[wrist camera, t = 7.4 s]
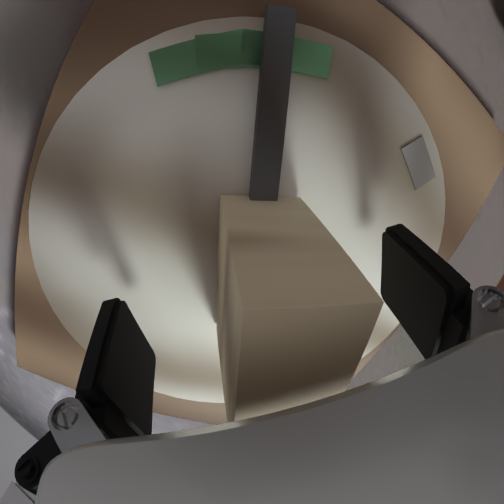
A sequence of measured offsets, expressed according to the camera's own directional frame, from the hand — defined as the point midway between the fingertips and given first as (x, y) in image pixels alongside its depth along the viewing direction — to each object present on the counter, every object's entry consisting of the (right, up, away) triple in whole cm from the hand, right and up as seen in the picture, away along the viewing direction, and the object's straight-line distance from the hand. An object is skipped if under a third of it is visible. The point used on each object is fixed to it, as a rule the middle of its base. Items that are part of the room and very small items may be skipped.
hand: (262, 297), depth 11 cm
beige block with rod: (0, +4, 0) cm, 4 cm away
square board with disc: (-1, +2, +3) cm, 4 cm away
